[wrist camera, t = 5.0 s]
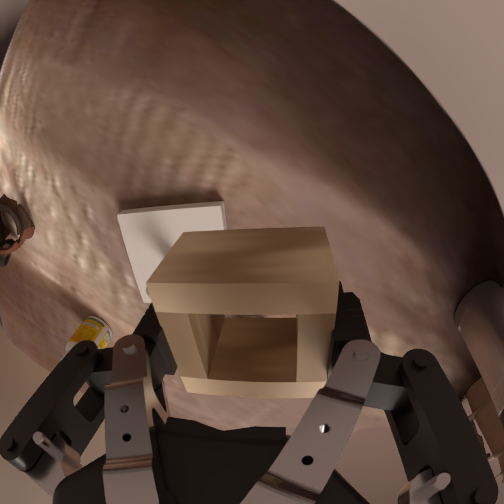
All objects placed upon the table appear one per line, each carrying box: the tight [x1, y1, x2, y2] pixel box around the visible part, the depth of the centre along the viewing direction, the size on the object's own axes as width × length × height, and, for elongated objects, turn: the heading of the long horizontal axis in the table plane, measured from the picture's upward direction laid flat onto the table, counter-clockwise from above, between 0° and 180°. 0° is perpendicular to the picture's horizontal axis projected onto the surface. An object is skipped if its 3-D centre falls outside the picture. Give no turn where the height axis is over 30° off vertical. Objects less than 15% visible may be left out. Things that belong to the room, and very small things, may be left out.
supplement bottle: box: [61, 316, 112, 360], centre depth 37 cm, size 5×5×10 cm
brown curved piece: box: [0, 194, 35, 267], centre depth 31 cm, size 12×10×8 cm
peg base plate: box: [117, 201, 227, 303], centre depth 29 cm, size 12×12×8 cm
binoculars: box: [459, 378, 504, 483], centre depth 32 cm, size 21×10×25 cm, turn 138°
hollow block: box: [146, 227, 339, 398], centre depth 12 cm, size 6×6×4 cm
